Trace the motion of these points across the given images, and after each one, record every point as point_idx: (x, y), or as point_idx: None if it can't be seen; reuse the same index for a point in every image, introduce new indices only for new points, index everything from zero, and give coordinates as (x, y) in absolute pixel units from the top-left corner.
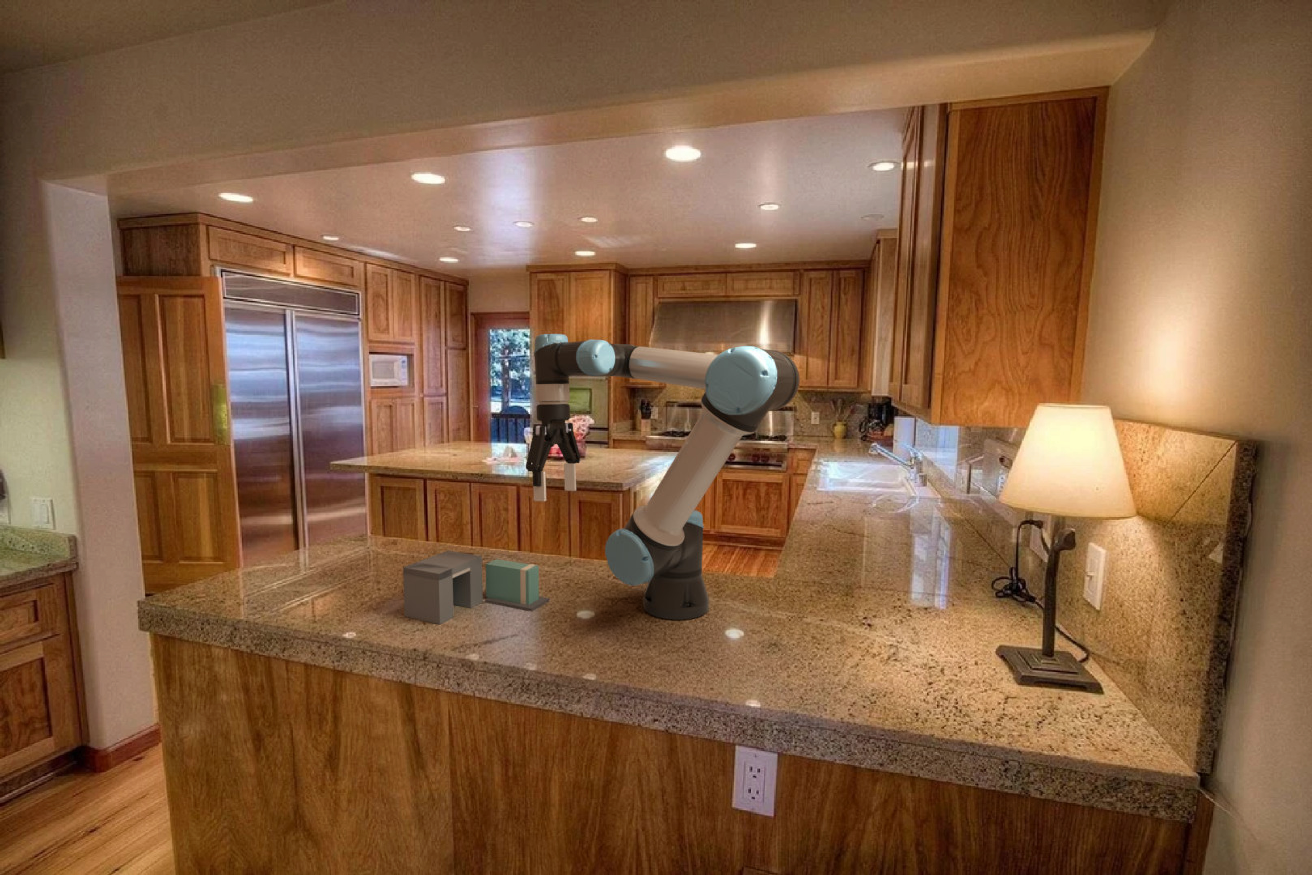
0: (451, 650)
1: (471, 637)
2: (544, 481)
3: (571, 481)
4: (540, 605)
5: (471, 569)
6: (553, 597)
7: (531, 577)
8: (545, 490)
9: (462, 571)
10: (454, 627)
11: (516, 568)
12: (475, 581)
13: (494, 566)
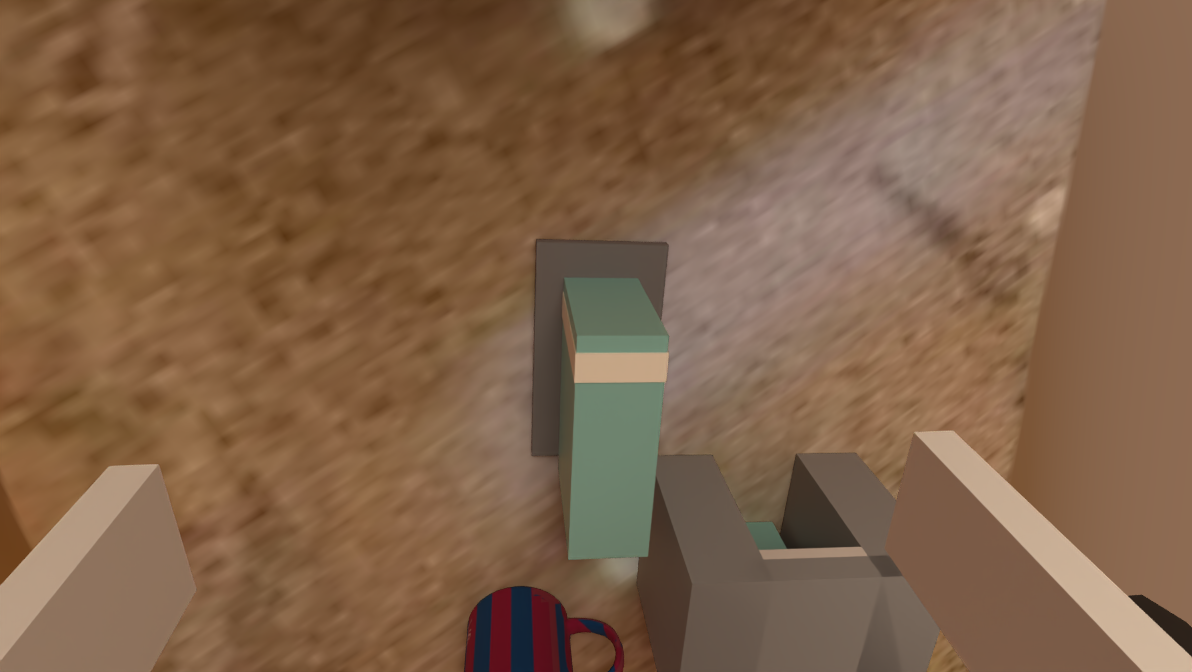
0: (1017, 300)
1: (923, 304)
2: (1130, 621)
3: (97, 608)
4: (604, 241)
5: (750, 551)
6: (496, 241)
7: (636, 319)
8: (1005, 514)
9: (808, 555)
10: (865, 400)
11: (657, 405)
12: (710, 512)
13: (650, 511)
